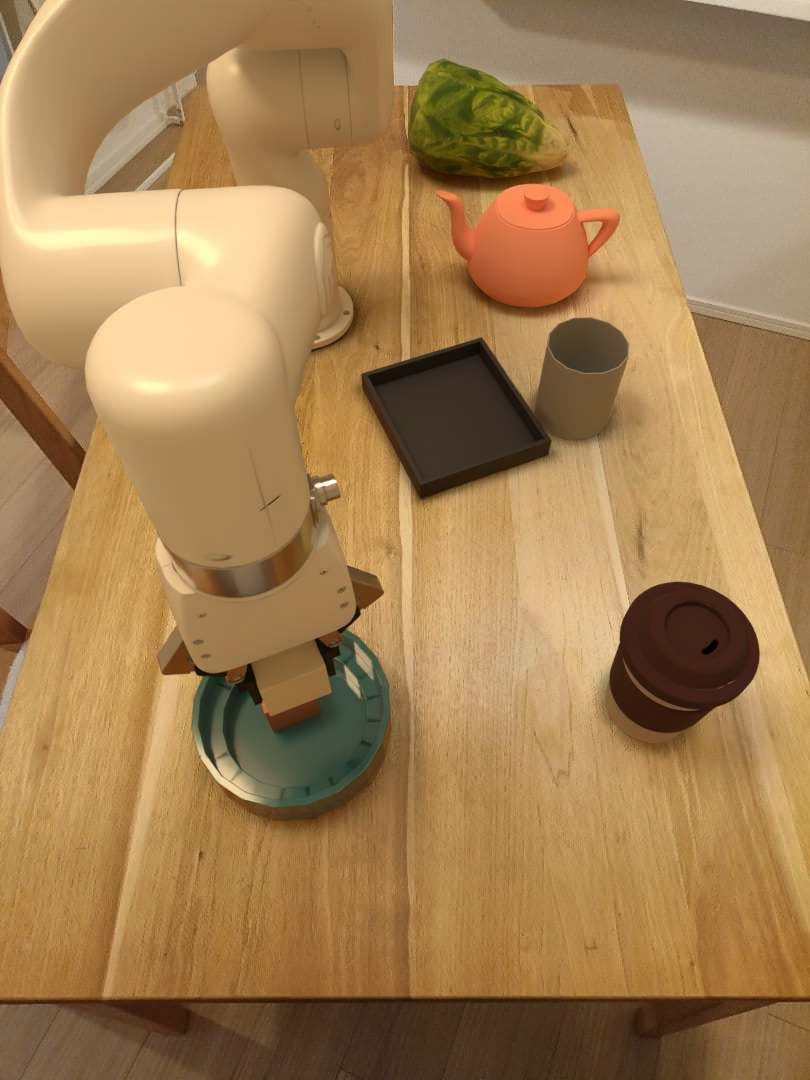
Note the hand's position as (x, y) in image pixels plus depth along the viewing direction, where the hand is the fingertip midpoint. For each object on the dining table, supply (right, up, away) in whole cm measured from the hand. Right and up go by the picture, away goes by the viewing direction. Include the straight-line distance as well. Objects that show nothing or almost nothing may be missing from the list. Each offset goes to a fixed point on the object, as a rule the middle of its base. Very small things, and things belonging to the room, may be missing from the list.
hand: (289, 670), depth 53 cm
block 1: (0, -1, +1) cm, 1 cm away
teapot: (+23, +43, +46) cm, 67 cm away
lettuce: (+20, +64, +60) cm, 90 cm away
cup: (+27, +24, +34) cm, 49 cm away
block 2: (-2, -5, +15) cm, 16 cm away
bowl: (-1, -7, +14) cm, 16 cm away
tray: (+13, +22, +33) cm, 42 cm away
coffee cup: (+29, -6, +15) cm, 33 cm away
